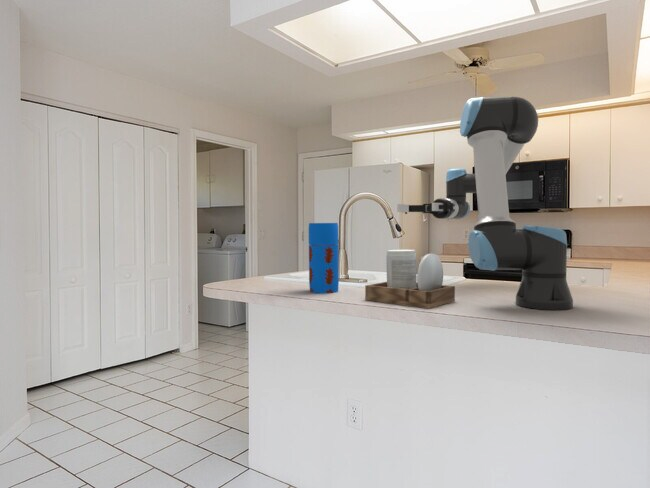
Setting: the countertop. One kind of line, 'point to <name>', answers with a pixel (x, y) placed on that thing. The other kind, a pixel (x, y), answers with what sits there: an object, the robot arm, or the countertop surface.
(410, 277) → the supplement tub
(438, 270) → the plate
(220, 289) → the countertop surface
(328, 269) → the thermos
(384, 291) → the rack
